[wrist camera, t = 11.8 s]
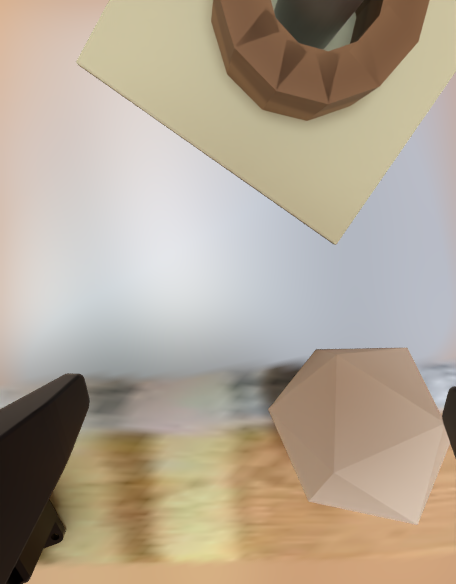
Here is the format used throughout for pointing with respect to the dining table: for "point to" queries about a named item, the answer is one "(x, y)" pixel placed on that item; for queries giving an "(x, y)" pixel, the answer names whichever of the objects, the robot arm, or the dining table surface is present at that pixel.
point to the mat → (263, 124)
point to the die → (363, 431)
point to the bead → (313, 55)
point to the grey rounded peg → (314, 19)
